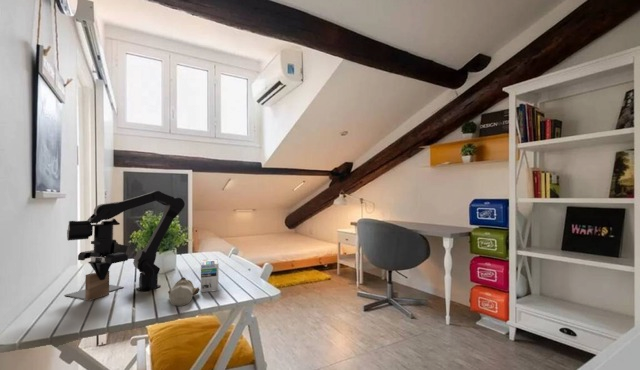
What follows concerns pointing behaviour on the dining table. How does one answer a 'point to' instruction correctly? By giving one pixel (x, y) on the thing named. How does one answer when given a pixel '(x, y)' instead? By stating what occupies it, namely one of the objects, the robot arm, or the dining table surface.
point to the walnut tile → (96, 286)
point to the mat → (82, 293)
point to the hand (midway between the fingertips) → (102, 279)
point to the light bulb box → (209, 275)
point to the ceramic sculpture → (182, 292)
